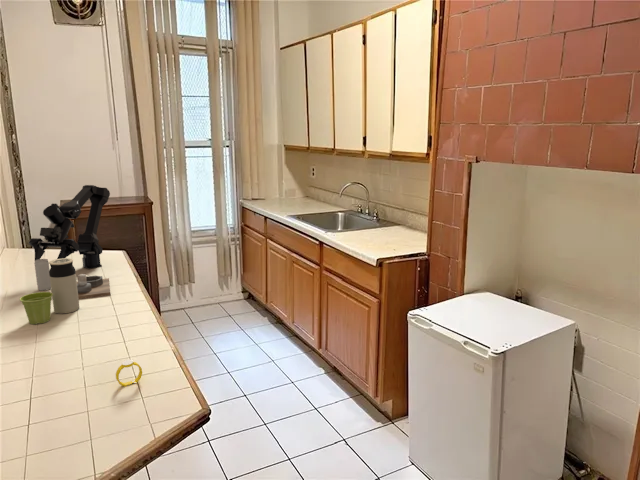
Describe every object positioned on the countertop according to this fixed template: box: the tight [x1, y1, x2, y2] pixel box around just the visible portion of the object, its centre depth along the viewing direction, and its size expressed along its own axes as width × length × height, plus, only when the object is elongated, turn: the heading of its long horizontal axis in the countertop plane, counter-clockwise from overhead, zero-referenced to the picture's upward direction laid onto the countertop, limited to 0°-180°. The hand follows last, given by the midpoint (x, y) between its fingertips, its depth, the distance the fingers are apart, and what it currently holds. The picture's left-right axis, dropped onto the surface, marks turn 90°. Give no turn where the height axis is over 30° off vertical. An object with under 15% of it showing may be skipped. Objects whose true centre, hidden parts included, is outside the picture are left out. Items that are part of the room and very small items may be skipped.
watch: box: [115, 359, 143, 387], centre depth 117 cm, size 6×3×6 cm, turn 126°
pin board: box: [76, 273, 112, 300], centre depth 187 cm, size 20×16×8 cm
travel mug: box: [48, 257, 80, 315], centre depth 165 cm, size 8×8×18 cm
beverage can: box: [33, 258, 51, 292], centre depth 188 cm, size 5×5×12 cm
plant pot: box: [19, 291, 53, 325], centre depth 156 cm, size 9×9×9 cm
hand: (46, 262), depth 190 cm, fingers open, 9 cm apart
